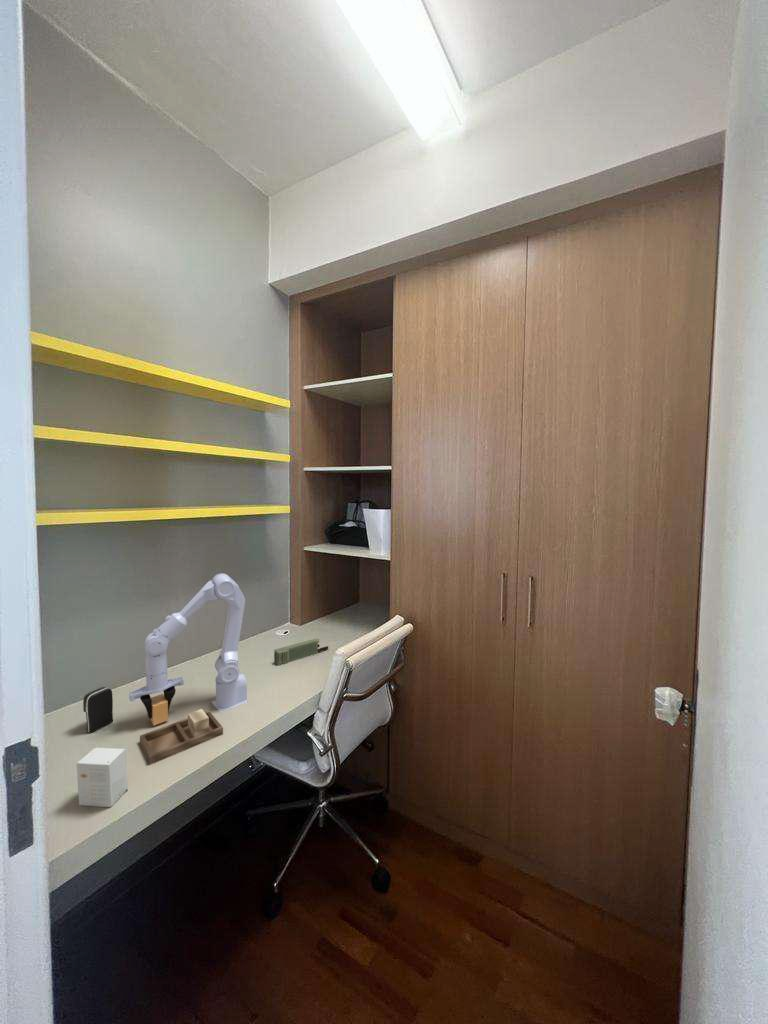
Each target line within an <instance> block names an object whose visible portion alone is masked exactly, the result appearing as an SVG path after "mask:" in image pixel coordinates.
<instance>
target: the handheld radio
mask: <svg viewBox="0 0 768 1024" xmlns="http://www.w3.org/2000/svg"><path fill="white" fill-rule="evenodd" d="M318 643H320V638H319V637H317V638H316V637H315V638H313V639H308V640H305V641H301V642H297V643H294V644H290V645H286V646H283V647H278V648H276V649H274V650H273V651H274V652H273V653H274V656H273V659H274V661H273V664H274V665H275V666H277V667H278V666H281V665H285V664H287V663H291V662H295V661H298V660H302V659H305V658H308V657H312V656H315V655H318V654H317V653H319V652H322V651H326V650H328V649H329V646H328V645H327V646H323V647H320V646H321V645H320V644H318ZM319 647H320V648H319ZM314 654H315V655H314ZM311 655H312V656H311Z"/></svg>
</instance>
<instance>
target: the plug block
mask: <svg viewBox="0 0 768 1024" xmlns="http://www.w3.org/2000/svg"><path fill="white" fill-rule="evenodd" d="M150 698H151V699H152V703H151V711H152V718H151V719H149V720H150V722H151V725H153V726H156V725H160V724H162V723H165V722H168V721H169V712H168V701H167V700H166V698H165V697H164V693H161V694H157V695H154V696H150Z"/></svg>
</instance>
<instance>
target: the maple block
mask: <svg viewBox="0 0 768 1024" xmlns="http://www.w3.org/2000/svg"><path fill="white" fill-rule="evenodd" d="M187 718H188V730H189V732H190V733H191V735H192V736H193V738H194V737H196V736H199V735H201V734H204V733H206V732H208V731H209V717H208V716H207V715H206V713H205V710H203V708H200V709H198V710H195V711H192V712H189V713H187Z"/></svg>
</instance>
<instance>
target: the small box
mask: <svg viewBox="0 0 768 1024" xmlns="http://www.w3.org/2000/svg"><path fill="white" fill-rule="evenodd" d="M126 752H127V751H126V748H113V747H110V748H109V747H95V748H93V749H92V750H91V751H89V753H86V755H85V756H84V757H83V758H81V759H80V760H79V761H77V762H76V774H77V791H78V805H79V806H86V807H87V806H88V807H102V808H103V807H104V808H112V807H113V806H114V805H115V804H116V802H117V801H118V800H119V799H120V798H121V797H122V795H124V794H125V792H127V790H128V786H129V785H128V770H127V769H128V767H127V753H126Z"/></svg>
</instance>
